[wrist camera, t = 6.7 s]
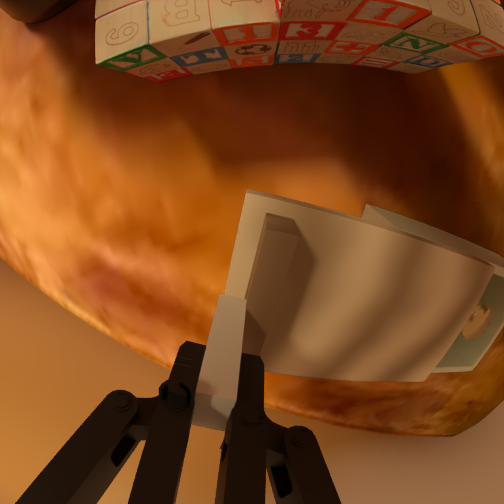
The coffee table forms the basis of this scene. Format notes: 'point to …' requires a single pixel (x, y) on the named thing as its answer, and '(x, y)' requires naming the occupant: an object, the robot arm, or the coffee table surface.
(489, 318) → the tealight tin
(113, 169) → the coffee table surface
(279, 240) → the lid
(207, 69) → the stack of blocks
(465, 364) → the box
